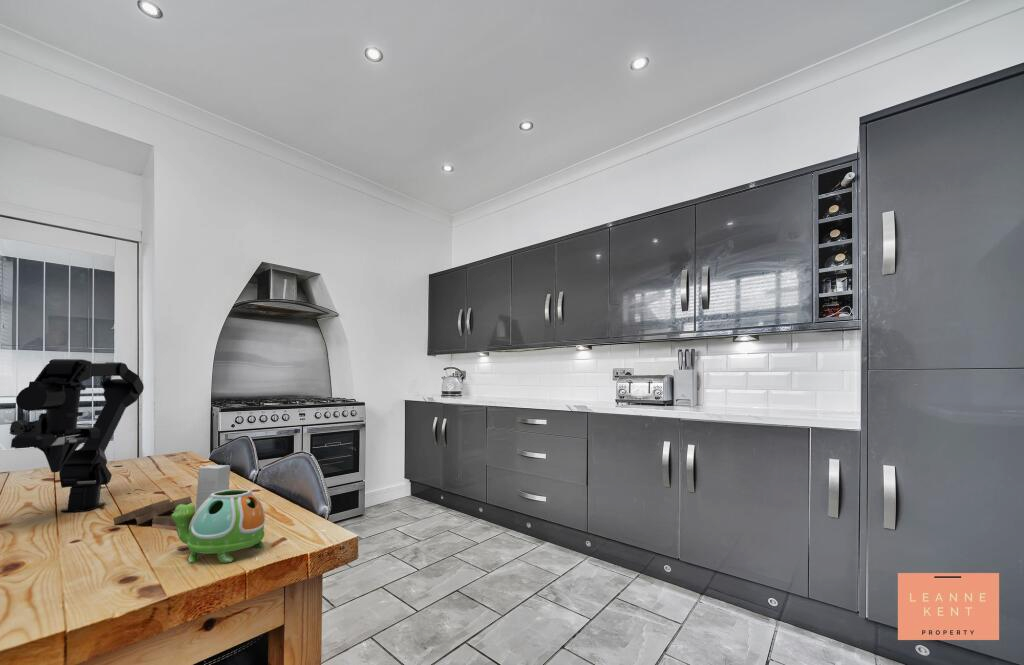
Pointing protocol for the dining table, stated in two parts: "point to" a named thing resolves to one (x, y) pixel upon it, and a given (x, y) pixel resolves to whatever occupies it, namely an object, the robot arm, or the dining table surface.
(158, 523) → the domino
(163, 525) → the domino end
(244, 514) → the turtle holder
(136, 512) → the domino
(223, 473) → the skincare box
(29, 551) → the dining table surface
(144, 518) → the domino
